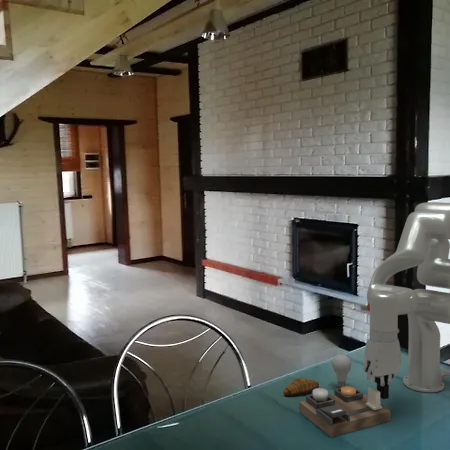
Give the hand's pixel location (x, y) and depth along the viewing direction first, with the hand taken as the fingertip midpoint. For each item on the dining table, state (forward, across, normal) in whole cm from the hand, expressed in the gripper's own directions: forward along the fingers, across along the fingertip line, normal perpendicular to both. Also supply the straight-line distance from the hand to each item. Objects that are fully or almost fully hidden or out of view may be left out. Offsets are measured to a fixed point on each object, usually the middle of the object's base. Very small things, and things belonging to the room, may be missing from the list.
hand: (382, 397), depth 144 cm
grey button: (+1, +15, -9) cm, 18 cm away
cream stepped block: (+2, +3, 0) cm, 4 cm away
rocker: (+1, +17, 0) cm, 17 cm away
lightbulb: (+6, -1, -21) cm, 21 cm away
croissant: (+6, +12, -24) cm, 27 cm away
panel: (+6, +10, -5) cm, 12 cm away
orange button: (+2, +5, -9) cm, 11 cm away
